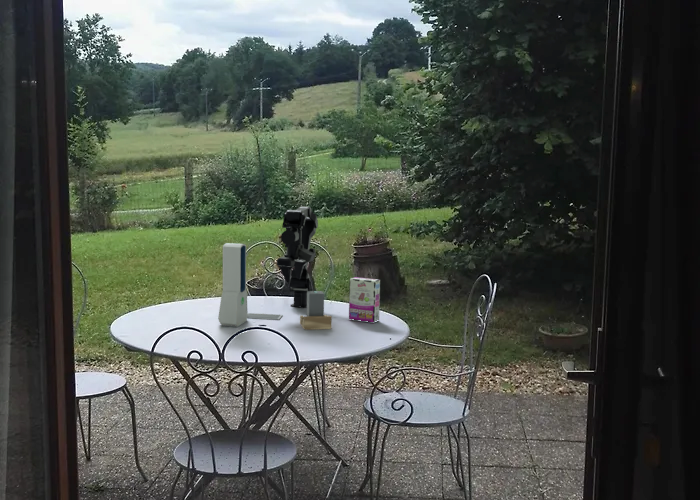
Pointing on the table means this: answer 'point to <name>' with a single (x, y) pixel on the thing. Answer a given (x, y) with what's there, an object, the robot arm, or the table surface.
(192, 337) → the table surface
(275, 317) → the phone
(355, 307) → the candy bar box
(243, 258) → the electronic device
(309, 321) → the tan wooden block
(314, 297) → the block
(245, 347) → the table surface
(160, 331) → the table surface
